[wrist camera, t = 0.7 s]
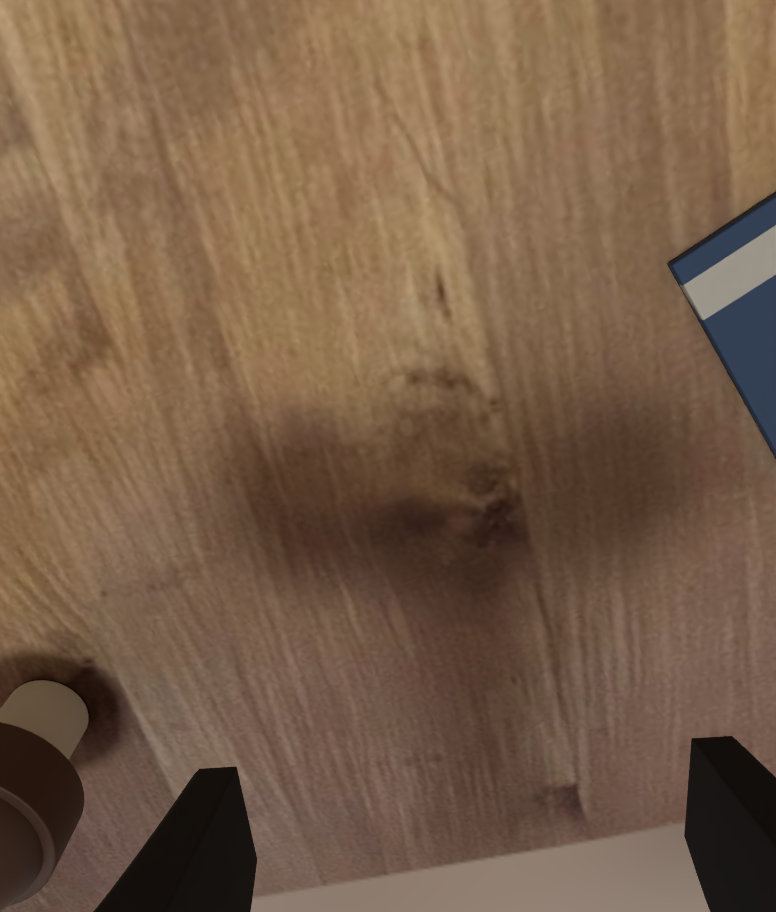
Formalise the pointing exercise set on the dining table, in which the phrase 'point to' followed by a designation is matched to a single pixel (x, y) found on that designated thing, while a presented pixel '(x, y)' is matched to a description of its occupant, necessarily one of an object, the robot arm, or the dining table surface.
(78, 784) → the mushroom
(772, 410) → the blue flat board
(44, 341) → the dining table surface
